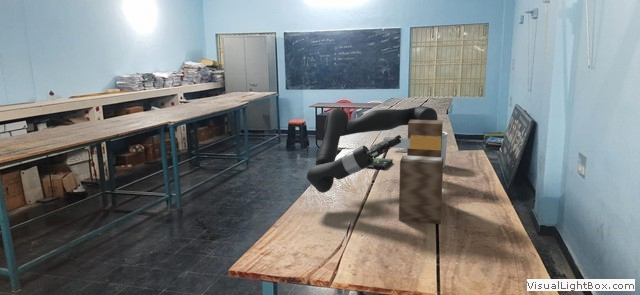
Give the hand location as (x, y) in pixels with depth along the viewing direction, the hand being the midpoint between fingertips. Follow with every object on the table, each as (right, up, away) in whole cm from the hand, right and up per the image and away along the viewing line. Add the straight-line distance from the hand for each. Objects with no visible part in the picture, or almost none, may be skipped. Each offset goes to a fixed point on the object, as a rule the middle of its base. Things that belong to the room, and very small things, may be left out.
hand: (400, 138), depth 144 cm
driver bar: (+3, -3, 0) cm, 5 cm away
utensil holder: (+30, -13, +72) cm, 79 cm away
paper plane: (+28, -5, +108) cm, 112 cm away
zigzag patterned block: (+10, -26, +11) cm, 30 cm away
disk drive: (+3, -13, +75) cm, 76 cm away
